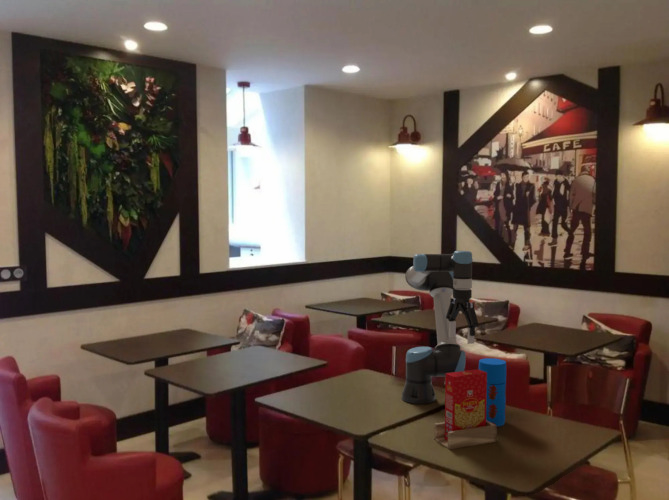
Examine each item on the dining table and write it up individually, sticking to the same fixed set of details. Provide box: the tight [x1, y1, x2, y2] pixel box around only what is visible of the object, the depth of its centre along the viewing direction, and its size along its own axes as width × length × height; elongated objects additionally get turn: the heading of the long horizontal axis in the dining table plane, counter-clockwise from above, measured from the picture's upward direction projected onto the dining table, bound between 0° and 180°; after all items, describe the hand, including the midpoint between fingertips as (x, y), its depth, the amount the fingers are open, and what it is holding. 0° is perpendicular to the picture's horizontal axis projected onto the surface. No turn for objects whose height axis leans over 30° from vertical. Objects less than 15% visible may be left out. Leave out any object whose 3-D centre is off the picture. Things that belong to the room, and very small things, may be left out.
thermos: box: [478, 357, 507, 427], centre depth 246 cm, size 11×11×25 cm
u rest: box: [433, 420, 498, 450], centre depth 227 cm, size 10×20×6 cm, turn 111°
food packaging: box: [444, 368, 487, 441], centre depth 227 cm, size 15×5×25 cm, turn 114°
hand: (461, 340), depth 250 cm, fingers open, 13 cm apart
